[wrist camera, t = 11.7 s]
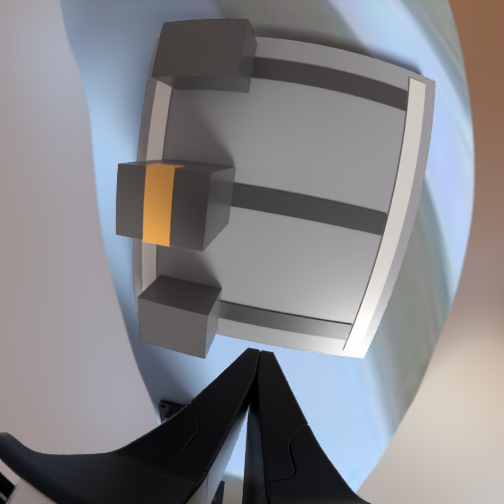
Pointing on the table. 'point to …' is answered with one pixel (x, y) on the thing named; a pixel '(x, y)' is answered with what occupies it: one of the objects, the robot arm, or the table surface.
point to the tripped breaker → (173, 202)
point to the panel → (282, 188)
